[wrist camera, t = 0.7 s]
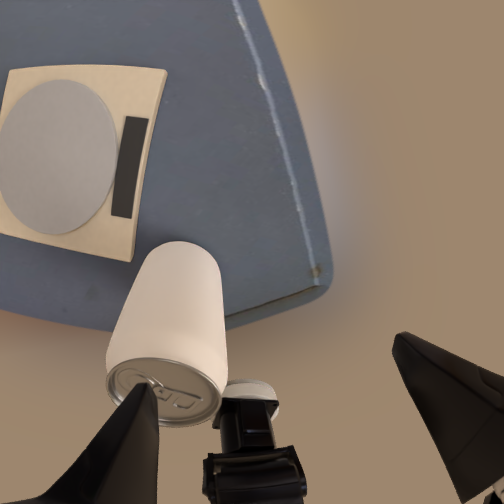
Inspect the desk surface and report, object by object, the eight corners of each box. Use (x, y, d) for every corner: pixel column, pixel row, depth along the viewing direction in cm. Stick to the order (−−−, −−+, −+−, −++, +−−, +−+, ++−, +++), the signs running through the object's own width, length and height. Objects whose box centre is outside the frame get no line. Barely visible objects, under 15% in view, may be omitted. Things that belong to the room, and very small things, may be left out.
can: (165, 223, 20) (120, 327, 10) (236, 265, 23) (258, 386, 12) (129, 286, 22) (85, 401, 11) (195, 320, 24) (192, 441, 14)
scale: (134, 256, 21) (128, 266, 20) (2, 227, 18) (-9, 234, 17) (168, 73, 16) (163, 67, 14) (17, 71, 13) (5, 69, 11)
